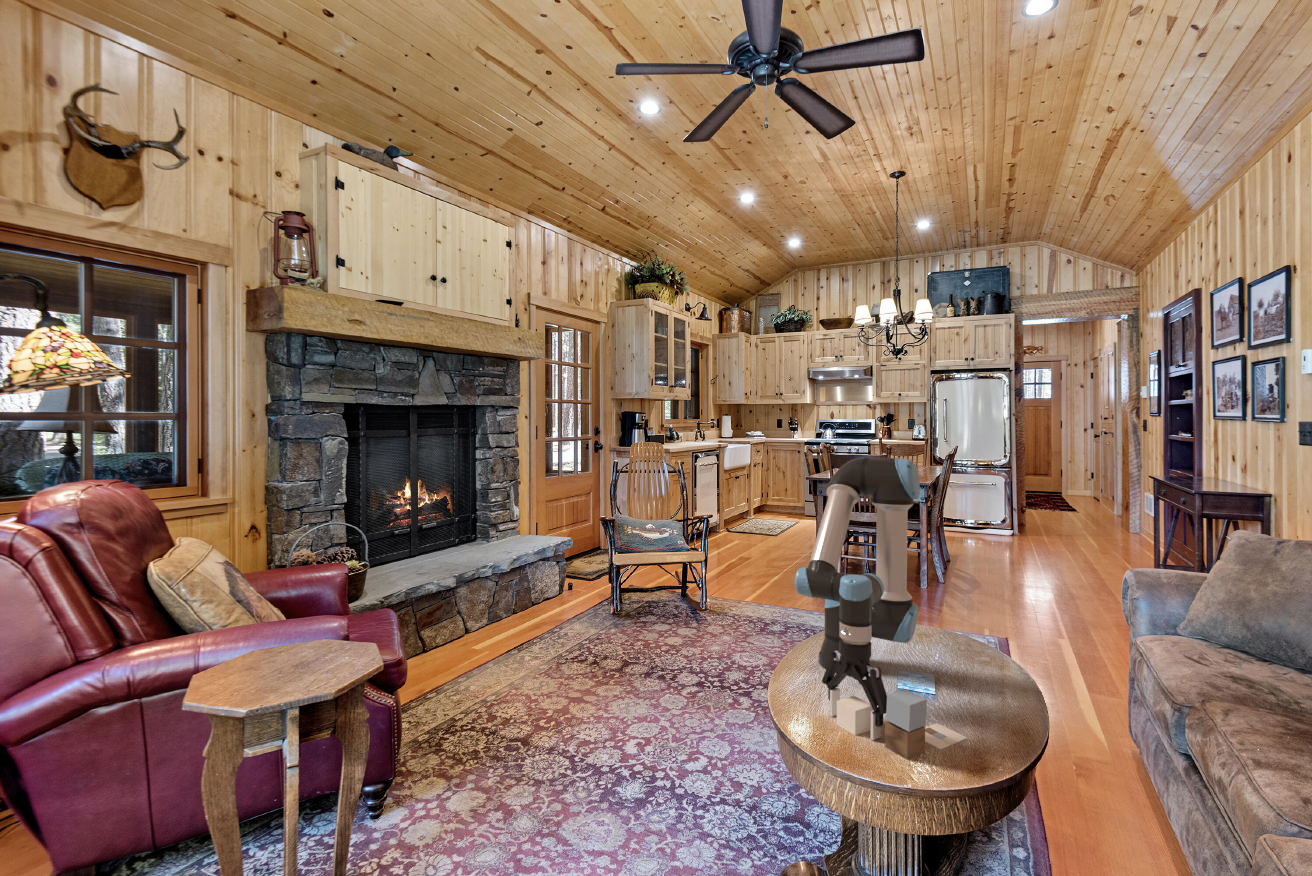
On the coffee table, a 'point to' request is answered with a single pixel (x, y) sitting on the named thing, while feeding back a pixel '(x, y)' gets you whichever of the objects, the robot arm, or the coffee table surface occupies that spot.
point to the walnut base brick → (904, 740)
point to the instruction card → (941, 736)
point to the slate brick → (906, 709)
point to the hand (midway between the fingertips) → (854, 726)
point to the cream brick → (854, 715)
